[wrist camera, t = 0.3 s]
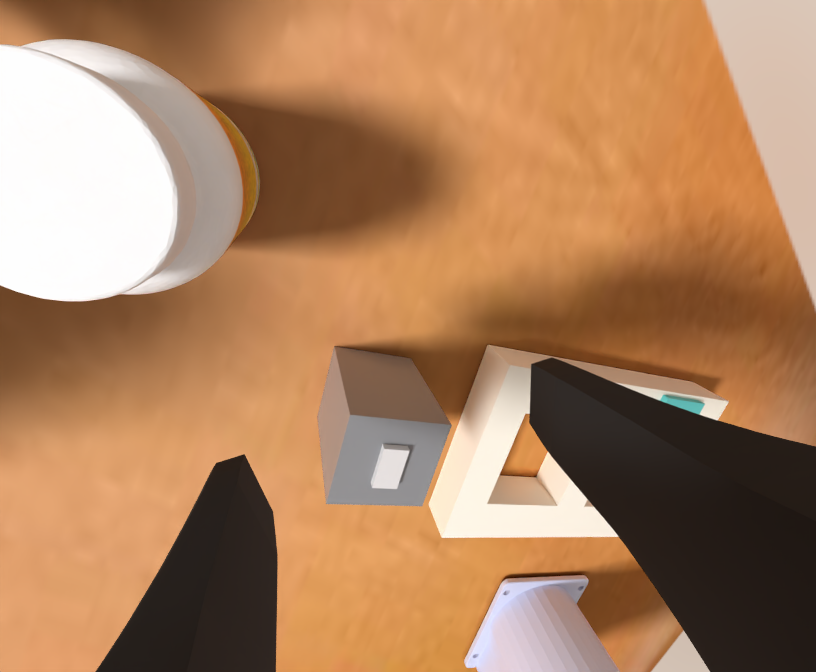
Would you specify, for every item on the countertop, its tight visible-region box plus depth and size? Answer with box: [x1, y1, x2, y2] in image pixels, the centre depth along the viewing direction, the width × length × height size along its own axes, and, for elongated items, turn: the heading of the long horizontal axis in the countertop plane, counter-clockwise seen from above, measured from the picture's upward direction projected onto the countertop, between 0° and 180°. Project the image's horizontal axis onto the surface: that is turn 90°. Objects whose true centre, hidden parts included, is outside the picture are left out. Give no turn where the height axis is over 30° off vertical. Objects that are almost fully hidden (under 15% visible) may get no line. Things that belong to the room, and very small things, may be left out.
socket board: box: [429, 345, 729, 538], centre depth 25 cm, size 11×16×3 cm
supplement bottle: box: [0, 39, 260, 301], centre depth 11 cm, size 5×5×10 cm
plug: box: [317, 346, 451, 506], centre depth 18 cm, size 4×4×6 cm
